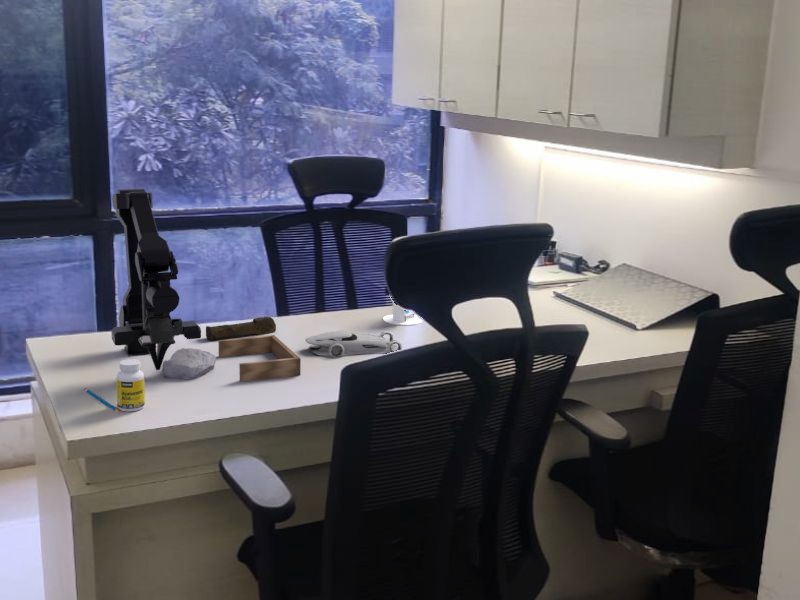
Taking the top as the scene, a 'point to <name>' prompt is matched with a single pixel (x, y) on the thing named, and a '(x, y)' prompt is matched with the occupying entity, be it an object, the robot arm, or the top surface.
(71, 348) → the top surface
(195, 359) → the stone block
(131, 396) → the supplement bottle
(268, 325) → the brown wooden log
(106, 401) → the pencil
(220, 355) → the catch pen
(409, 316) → the white upright piece
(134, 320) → the robot arm
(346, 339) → the car model
